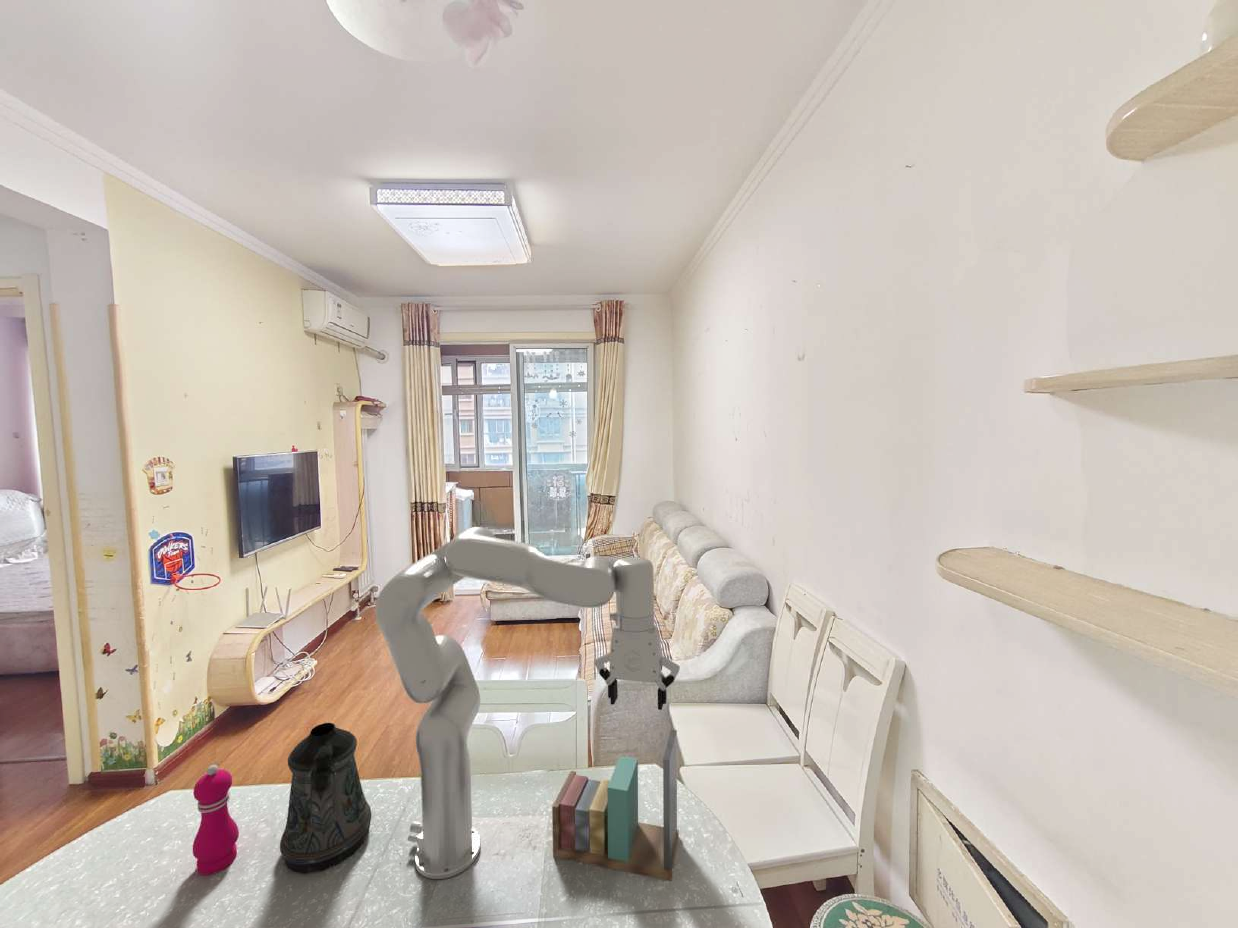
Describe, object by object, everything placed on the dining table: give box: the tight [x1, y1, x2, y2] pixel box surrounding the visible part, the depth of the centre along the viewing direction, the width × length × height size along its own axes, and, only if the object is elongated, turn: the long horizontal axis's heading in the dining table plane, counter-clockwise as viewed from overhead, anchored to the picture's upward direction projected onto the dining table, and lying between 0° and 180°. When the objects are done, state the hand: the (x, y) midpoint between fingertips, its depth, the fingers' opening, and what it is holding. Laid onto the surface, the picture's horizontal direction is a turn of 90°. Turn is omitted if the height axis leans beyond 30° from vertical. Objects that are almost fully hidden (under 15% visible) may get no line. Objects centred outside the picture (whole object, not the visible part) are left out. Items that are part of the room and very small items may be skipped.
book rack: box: [551, 770, 680, 882], centre depth 103 cm, size 24×11×10 cm, turn 76°
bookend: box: [662, 728, 678, 870], centre depth 100 cm, size 1×10×22 cm, turn 166°
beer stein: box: [279, 722, 372, 875], centre depth 104 cm, size 16×19×25 cm
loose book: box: [607, 755, 639, 862], centre depth 103 cm, size 4×10×14 cm, turn 166°
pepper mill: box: [192, 764, 240, 876], centre depth 100 cm, size 7×7×20 cm
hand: (637, 703), depth 101 cm, fingers open, 9 cm apart
